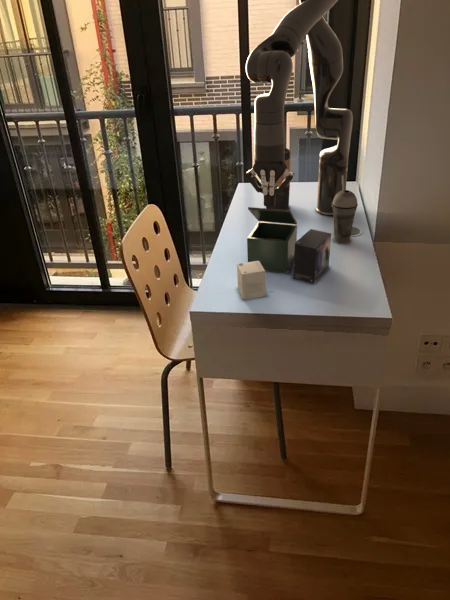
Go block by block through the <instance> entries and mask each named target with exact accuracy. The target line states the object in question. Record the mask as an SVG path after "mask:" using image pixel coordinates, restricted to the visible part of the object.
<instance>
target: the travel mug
mask: <svg viewBox="0 0 450 600" xmlns="http://www.w3.org/2000/svg"><path fill="white" fill-rule="evenodd" d="M285 164H286V166H287V170H288V171H289V172H291V150H290V149H289V148H287V147H285ZM284 180H285V179H284V173H283V175H282V176H281V177H280V178H279V180H278V181H277V187H279V186H280V185H281V184H282V183H283V181H284ZM269 185H270V183H269ZM277 187H276V188H277ZM290 189H291V181H290V182H289V183H288V185H287V186H286V187H285V188H284V189H283V190H282V192H281V193H280V194H276V204H275V206H274V207H273V208H272V209H280V210H289V209H290V208H289V207H290Z"/></svg>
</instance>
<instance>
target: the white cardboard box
mask: <svg viewBox="0 0 450 600" xmlns="http://www.w3.org/2000/svg"><path fill="white" fill-rule="evenodd" d="M236 275H237V290H238V292H239V294H240V296H241V298H242V300H243V301H244V300H251V299H257V298H264V297H266V296H267V288H266V285H267V283H266V271H265V270H264V268H263V266H262V265H261V263H260V261H253V262H248V261H247V262H241V263H237V264H236Z"/></svg>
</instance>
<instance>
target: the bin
mask: <svg viewBox="0 0 450 600" xmlns="http://www.w3.org/2000/svg"><path fill="white" fill-rule="evenodd" d="M267 238H270V239H267ZM274 239H282V240H274ZM297 241H298V224H286V223H274V222H262V221H257V223H256V224H255V226H254V227H253V228H252V230H251V232H250V233H249V235H248V236H247V238H246V248H247V249H246V251H247V262H253V261H260V263H261V265H262V266H263V268H264V270H265V272H273V273H275V272H276V273H284V274H288V273H289V270H290V269H291V267H292V264H293V263H294V243H296V242H297Z"/></svg>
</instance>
